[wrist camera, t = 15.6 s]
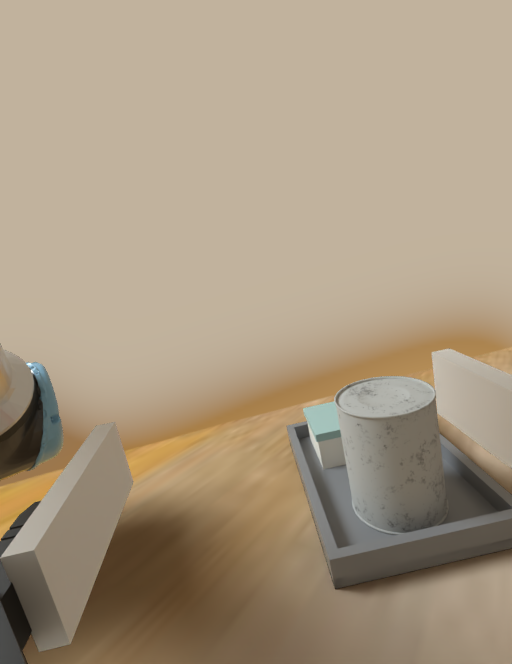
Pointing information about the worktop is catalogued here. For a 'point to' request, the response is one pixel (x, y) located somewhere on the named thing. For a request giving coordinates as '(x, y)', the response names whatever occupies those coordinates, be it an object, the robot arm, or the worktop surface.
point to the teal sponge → (325, 434)
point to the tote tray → (409, 548)
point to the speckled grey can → (393, 453)
